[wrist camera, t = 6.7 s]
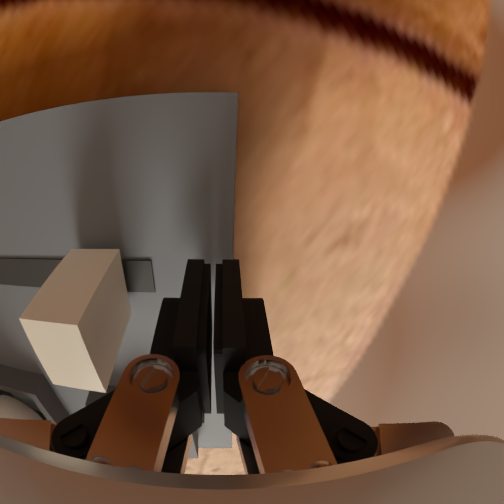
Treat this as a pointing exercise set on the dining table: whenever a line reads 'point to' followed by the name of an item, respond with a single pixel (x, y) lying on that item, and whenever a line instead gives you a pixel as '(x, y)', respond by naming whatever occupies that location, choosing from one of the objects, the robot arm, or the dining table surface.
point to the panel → (114, 220)
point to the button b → (16, 409)
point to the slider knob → (80, 319)
